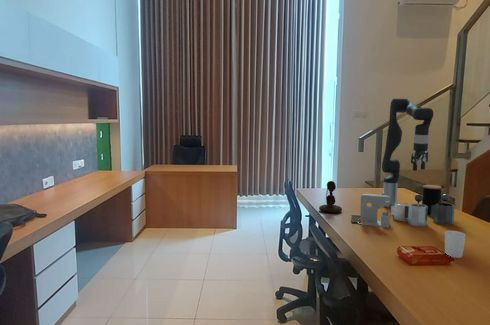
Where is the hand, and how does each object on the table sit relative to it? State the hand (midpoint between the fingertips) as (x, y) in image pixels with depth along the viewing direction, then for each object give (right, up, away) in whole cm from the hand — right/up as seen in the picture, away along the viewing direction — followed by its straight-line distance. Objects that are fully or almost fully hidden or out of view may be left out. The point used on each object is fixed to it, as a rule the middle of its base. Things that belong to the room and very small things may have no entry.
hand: (418, 170), depth 208 cm
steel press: (-3, -31, -2) cm, 31 cm away
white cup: (-10, -37, -51) cm, 64 cm away
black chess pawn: (-46, -28, +26) cm, 60 cm away
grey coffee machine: (-27, -32, -2) cm, 42 cm away
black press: (+14, -31, +1) cm, 34 cm away
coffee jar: (+19, -29, +22) cm, 41 cm away
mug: (-7, -30, +8) cm, 32 cm away
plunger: (-2, -30, -3) cm, 30 cm away
